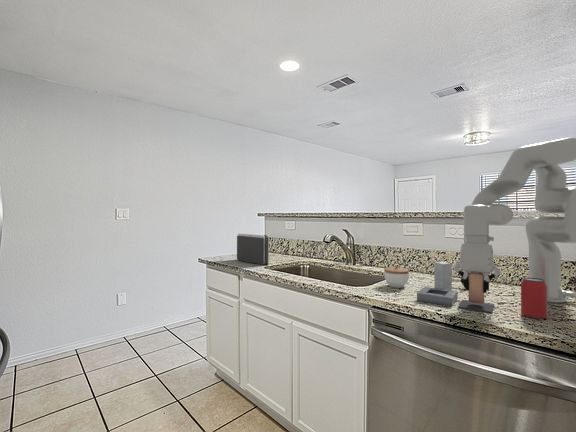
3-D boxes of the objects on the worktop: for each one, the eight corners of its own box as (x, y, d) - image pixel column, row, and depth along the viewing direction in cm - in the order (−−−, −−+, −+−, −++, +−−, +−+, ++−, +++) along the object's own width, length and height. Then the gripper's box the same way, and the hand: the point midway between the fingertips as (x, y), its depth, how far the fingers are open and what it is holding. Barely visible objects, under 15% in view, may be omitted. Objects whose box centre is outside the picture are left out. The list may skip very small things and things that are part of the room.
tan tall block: (484, 300, 110) (484, 270, 110) (483, 304, 106) (483, 273, 106) (469, 298, 113) (469, 269, 113) (467, 301, 109) (467, 271, 109)
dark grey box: (233, 260, 221) (233, 233, 221) (257, 257, 236) (257, 231, 236) (265, 266, 196) (265, 235, 196) (289, 262, 212) (289, 234, 212)
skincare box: (452, 292, 130) (452, 263, 130) (443, 292, 129) (443, 264, 129) (442, 288, 136) (442, 261, 136) (433, 289, 135) (433, 261, 135)
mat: (494, 306, 111) (494, 304, 111) (491, 313, 103) (491, 311, 103) (462, 301, 117) (462, 299, 117) (457, 308, 109) (457, 306, 109)
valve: (436, 285, 141) (465, 290, 133) (436, 271, 141) (465, 275, 133) (440, 283, 146) (469, 287, 138) (440, 269, 146) (469, 272, 138)
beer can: (525, 318, 98) (525, 280, 98) (518, 311, 104) (518, 276, 104) (550, 320, 96) (550, 282, 96) (542, 313, 102) (542, 277, 102)
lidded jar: (391, 282, 149) (390, 262, 149) (413, 286, 141) (413, 265, 141) (379, 286, 141) (379, 265, 141) (402, 290, 134) (402, 268, 133)
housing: (457, 298, 120) (457, 290, 120) (452, 306, 111) (452, 298, 111) (424, 293, 127) (424, 286, 127) (416, 300, 118) (416, 293, 118)
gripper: (505, 240, 107) (505, 292, 107) (451, 237, 117) (451, 285, 118) (505, 241, 101) (505, 297, 101) (447, 239, 111) (447, 289, 112)
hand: (476, 290), depth 110 cm, fingers closed on tan tall block, 4 cm apart
